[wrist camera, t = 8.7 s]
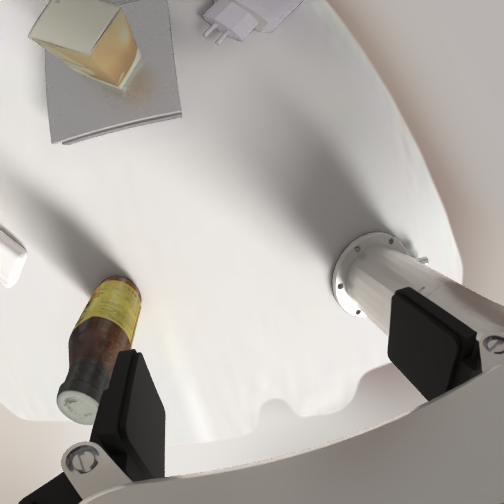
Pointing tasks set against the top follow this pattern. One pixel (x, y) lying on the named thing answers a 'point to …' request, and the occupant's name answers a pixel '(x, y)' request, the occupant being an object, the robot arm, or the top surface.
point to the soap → (10, 260)
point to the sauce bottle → (98, 347)
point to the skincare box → (89, 39)
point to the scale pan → (110, 98)
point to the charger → (246, 16)
